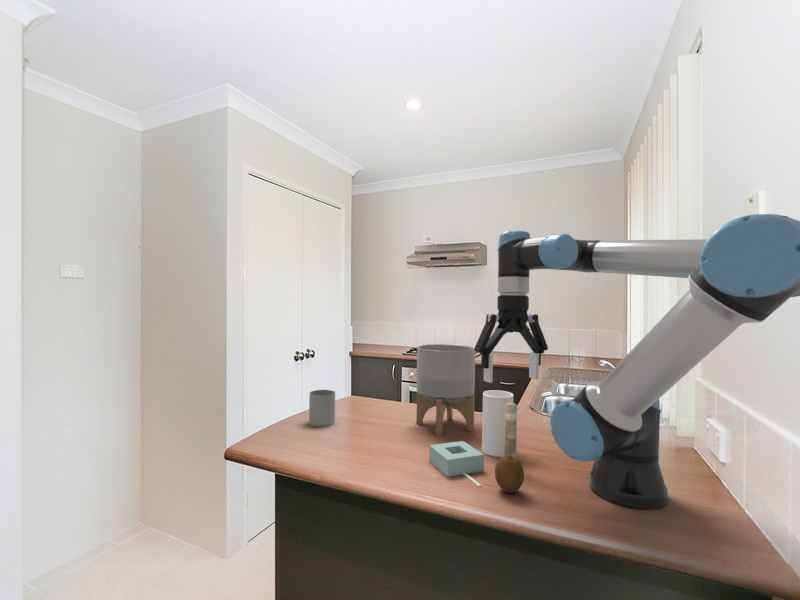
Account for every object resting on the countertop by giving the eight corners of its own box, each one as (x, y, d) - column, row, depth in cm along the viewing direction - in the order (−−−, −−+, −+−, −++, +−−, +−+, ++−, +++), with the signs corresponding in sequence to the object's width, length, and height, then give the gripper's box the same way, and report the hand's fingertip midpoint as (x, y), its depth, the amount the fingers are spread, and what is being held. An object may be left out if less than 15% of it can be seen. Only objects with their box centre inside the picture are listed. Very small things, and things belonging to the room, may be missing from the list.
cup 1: (308, 419, 140) (308, 390, 140) (332, 418, 142) (333, 389, 142) (310, 427, 132) (311, 396, 132) (336, 425, 134) (336, 394, 134)
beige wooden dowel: (518, 470, 102) (519, 405, 102) (508, 471, 101) (509, 406, 101) (511, 465, 104) (512, 402, 104) (501, 467, 103) (503, 403, 103)
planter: (424, 415, 147) (425, 342, 147) (477, 421, 141) (478, 345, 141) (408, 432, 129) (410, 349, 129) (469, 439, 123) (470, 352, 123)
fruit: (488, 491, 91) (489, 454, 90) (504, 482, 95) (504, 447, 95) (514, 501, 86) (515, 463, 86) (529, 491, 90) (529, 455, 90)
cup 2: (513, 458, 109) (514, 398, 109) (481, 455, 111) (482, 396, 111) (511, 447, 117) (512, 391, 117) (482, 444, 119) (483, 389, 119)
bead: (483, 470, 101) (483, 454, 101) (447, 476, 97) (447, 459, 97) (463, 455, 110) (463, 440, 110) (429, 460, 107) (429, 445, 107)
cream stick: (481, 486, 93) (481, 485, 93) (478, 487, 92) (478, 485, 92) (465, 473, 99) (465, 472, 99) (462, 474, 99) (462, 472, 99)
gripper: (543, 295, 110) (541, 374, 111) (461, 293, 101) (459, 379, 101) (563, 295, 103) (561, 380, 104) (477, 293, 94) (476, 386, 94)
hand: (511, 380), depth 103 cm, fingers open, 13 cm apart
